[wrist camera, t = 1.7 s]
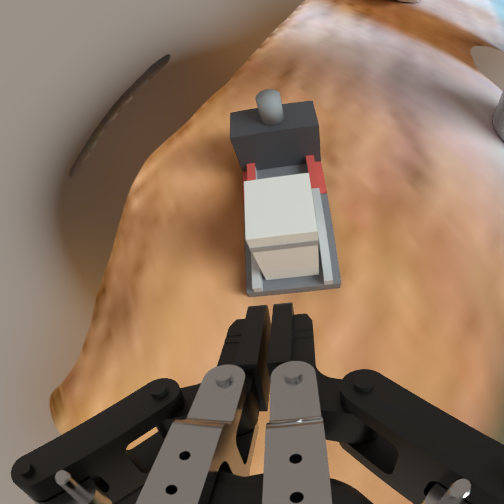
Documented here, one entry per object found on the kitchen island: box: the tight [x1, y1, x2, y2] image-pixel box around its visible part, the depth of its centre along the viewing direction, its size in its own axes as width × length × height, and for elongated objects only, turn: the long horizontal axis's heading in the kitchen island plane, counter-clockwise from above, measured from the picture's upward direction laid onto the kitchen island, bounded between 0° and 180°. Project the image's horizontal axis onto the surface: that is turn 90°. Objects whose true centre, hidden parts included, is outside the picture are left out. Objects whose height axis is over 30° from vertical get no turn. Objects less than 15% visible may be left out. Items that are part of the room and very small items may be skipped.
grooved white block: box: [244, 173, 319, 280], centre depth 27 cm, size 5×5×9 cm
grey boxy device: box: [230, 89, 341, 297], centre depth 30 cm, size 18×9×10 cm, turn 2°
